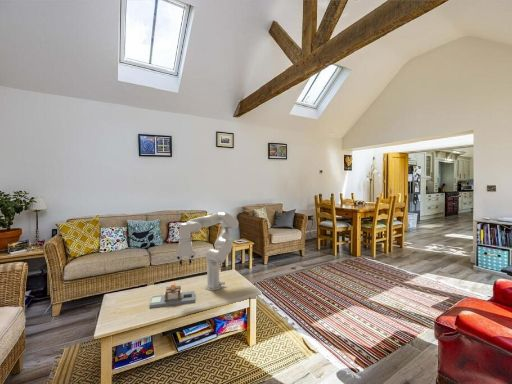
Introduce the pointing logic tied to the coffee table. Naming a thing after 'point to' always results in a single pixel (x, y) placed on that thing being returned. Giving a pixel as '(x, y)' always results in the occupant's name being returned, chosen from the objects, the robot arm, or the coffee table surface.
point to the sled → (173, 295)
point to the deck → (172, 300)
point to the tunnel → (168, 290)
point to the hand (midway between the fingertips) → (185, 264)
